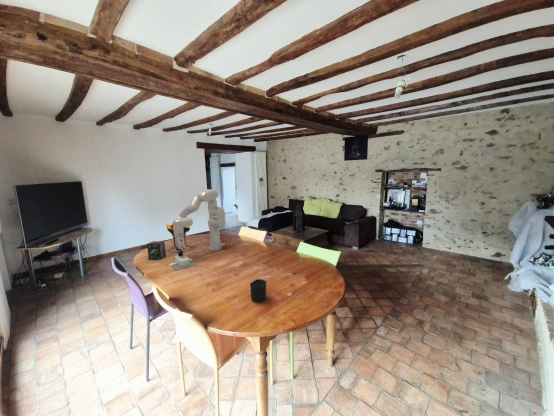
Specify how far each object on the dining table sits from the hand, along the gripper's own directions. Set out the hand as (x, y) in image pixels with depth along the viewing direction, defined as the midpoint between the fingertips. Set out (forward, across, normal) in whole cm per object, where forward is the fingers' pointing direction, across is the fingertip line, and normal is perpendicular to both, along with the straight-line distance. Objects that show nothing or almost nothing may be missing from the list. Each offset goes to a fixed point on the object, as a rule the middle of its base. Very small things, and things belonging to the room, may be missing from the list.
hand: (180, 255), depth 187 cm
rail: (+7, 0, 0) cm, 7 cm away
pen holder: (+7, -87, -18) cm, 89 cm away
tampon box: (+7, +28, +12) cm, 31 cm away
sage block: (+2, +3, 0) cm, 4 cm away
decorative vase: (+7, +38, -11) cm, 40 cm away
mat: (+7, -6, 0) cm, 9 cm away
